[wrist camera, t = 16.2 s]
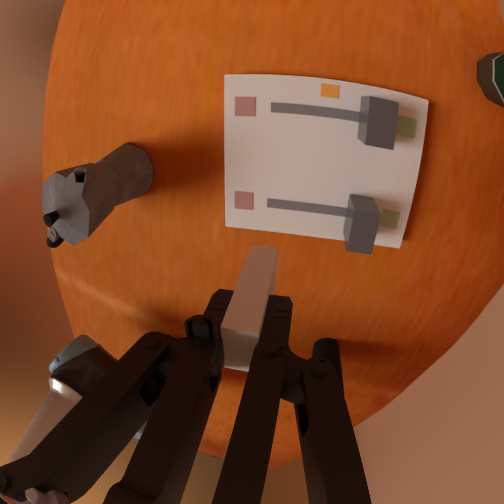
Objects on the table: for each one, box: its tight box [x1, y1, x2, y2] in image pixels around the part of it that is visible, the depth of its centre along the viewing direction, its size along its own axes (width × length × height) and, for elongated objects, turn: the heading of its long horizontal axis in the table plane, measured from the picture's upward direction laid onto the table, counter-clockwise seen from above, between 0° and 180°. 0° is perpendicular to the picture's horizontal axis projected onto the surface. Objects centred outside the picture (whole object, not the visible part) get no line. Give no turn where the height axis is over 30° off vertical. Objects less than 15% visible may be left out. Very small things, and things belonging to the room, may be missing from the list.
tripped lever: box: [357, 96, 399, 150], centre depth 24 cm, size 3×5×5 cm, turn 179°
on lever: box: [343, 194, 381, 254], centre depth 31 cm, size 3×5×5 cm, turn 179°
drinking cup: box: [312, 338, 347, 405], centre depth 42 cm, size 8×8×20 cm
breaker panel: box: [224, 74, 429, 248], centre depth 32 cm, size 24×20×3 cm
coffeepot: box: [42, 143, 154, 248], centre depth 32 cm, size 15×9×18 cm, turn 134°
